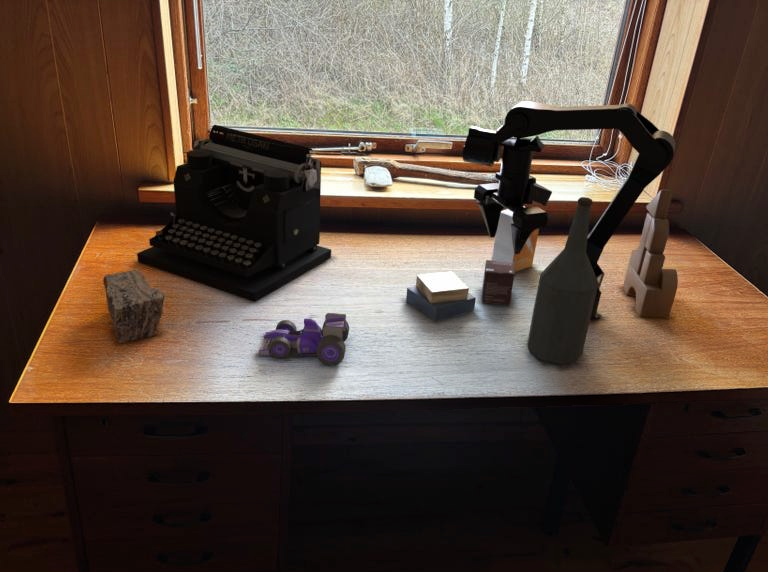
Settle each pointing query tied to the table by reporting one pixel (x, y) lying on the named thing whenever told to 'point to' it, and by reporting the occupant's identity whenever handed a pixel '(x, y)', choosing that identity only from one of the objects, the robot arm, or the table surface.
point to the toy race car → (309, 339)
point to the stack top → (442, 287)
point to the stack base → (439, 305)
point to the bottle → (565, 298)
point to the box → (498, 282)
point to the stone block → (133, 305)
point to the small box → (505, 244)
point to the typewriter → (242, 215)
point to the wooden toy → (652, 263)
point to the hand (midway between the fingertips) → (504, 245)
